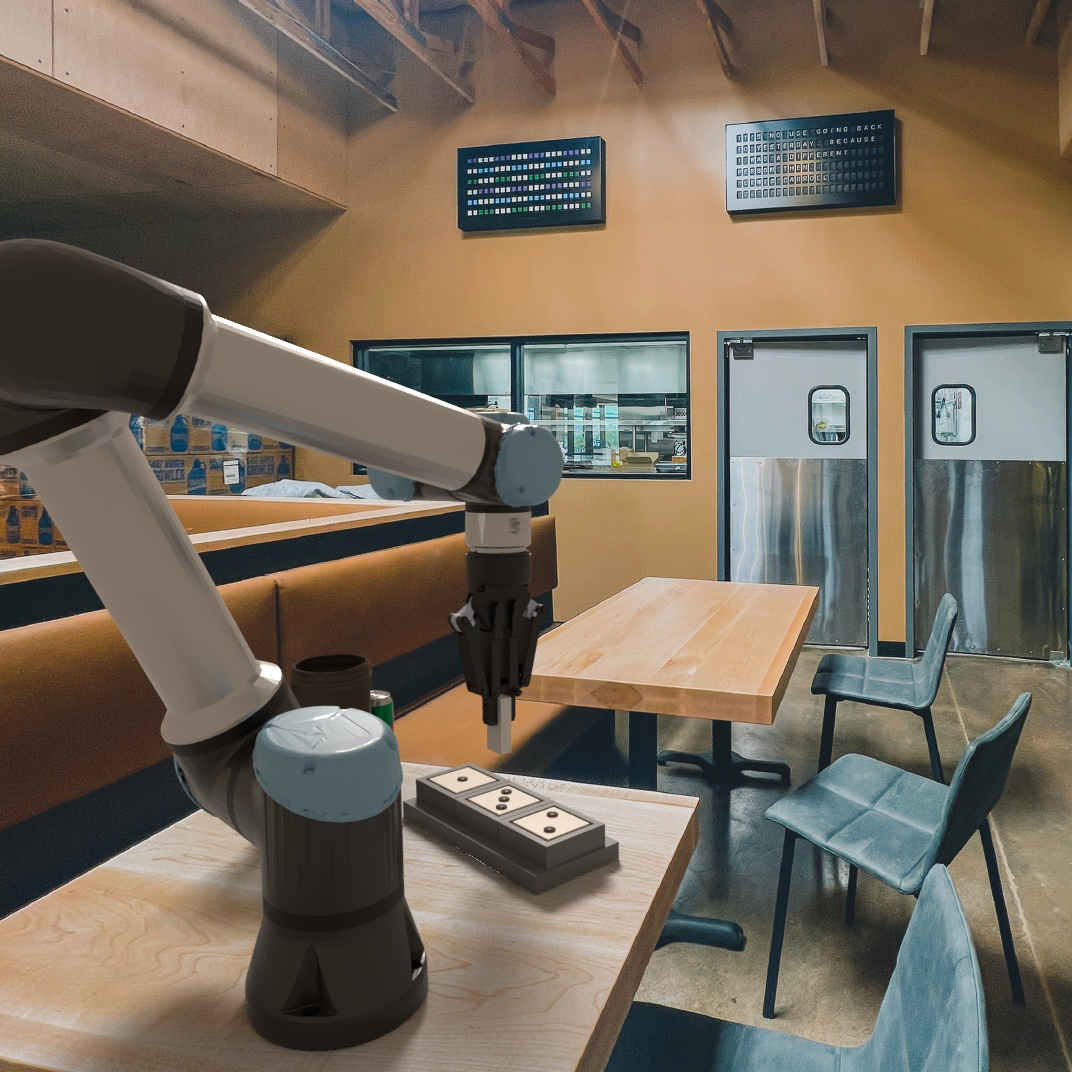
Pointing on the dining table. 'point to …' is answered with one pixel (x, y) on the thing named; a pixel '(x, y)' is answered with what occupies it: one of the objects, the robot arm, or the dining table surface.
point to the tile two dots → (550, 824)
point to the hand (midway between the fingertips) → (499, 750)
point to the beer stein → (333, 681)
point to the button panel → (509, 834)
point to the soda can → (382, 707)
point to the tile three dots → (503, 801)
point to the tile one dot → (462, 780)
